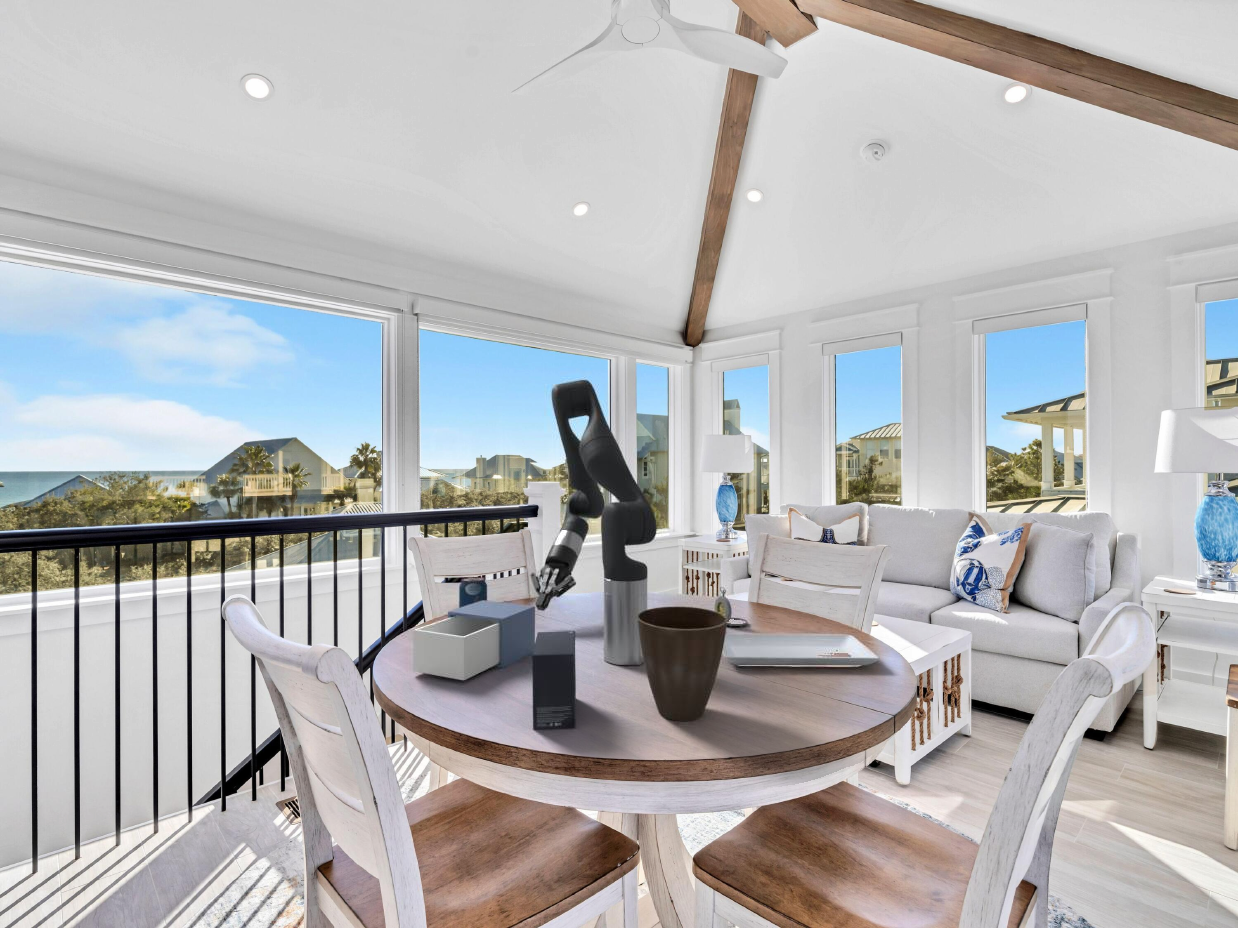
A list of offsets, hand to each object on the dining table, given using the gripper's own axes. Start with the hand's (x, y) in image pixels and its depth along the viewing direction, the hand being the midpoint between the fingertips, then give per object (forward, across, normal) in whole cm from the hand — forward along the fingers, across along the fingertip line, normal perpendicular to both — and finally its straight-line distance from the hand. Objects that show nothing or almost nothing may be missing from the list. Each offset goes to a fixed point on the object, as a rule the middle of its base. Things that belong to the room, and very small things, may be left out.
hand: (540, 608), depth 152 cm
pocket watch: (-15, +40, +24) cm, 49 cm away
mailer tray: (+21, 0, -14) cm, 25 cm away
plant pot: (+27, +47, -18) cm, 57 cm away
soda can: (+5, -19, +3) cm, 20 cm away
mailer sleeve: (+18, 0, -10) cm, 20 cm away
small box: (+33, +28, -24) cm, 50 cm away
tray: (+1, +59, +8) cm, 60 cm away
